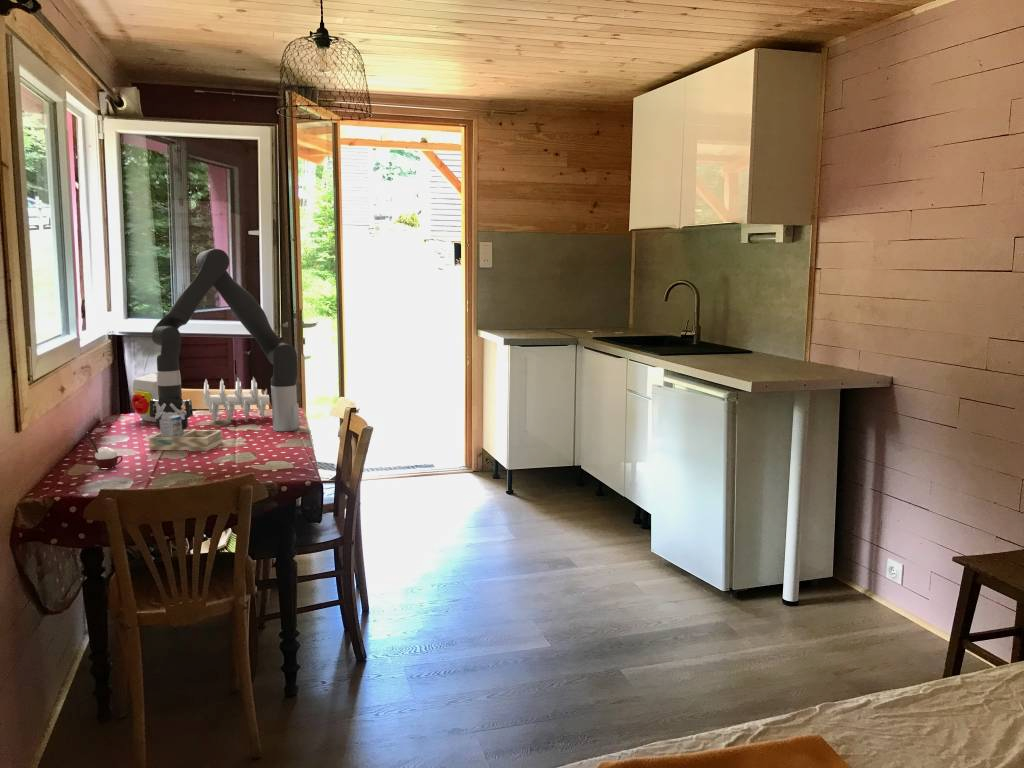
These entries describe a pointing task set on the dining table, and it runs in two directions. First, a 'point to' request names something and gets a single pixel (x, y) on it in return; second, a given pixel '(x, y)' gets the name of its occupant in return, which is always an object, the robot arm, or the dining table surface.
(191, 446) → the rack
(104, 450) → the cocoa
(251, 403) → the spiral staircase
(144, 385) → the electrical switch box
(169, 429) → the medicine box
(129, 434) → the dining table surface
